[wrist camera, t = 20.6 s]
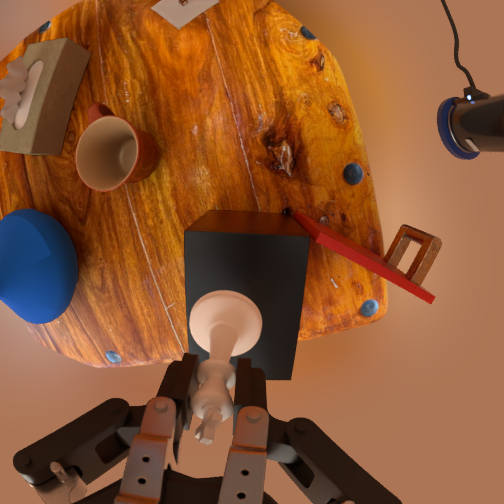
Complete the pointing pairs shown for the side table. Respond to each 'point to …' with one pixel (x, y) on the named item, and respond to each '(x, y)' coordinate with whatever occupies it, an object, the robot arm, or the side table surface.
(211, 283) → the dark brown cabinet
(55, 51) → the tissue box
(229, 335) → the chess piece
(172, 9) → the grey square plate
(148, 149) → the mug
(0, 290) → the vase
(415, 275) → the door
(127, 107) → the side table surface
